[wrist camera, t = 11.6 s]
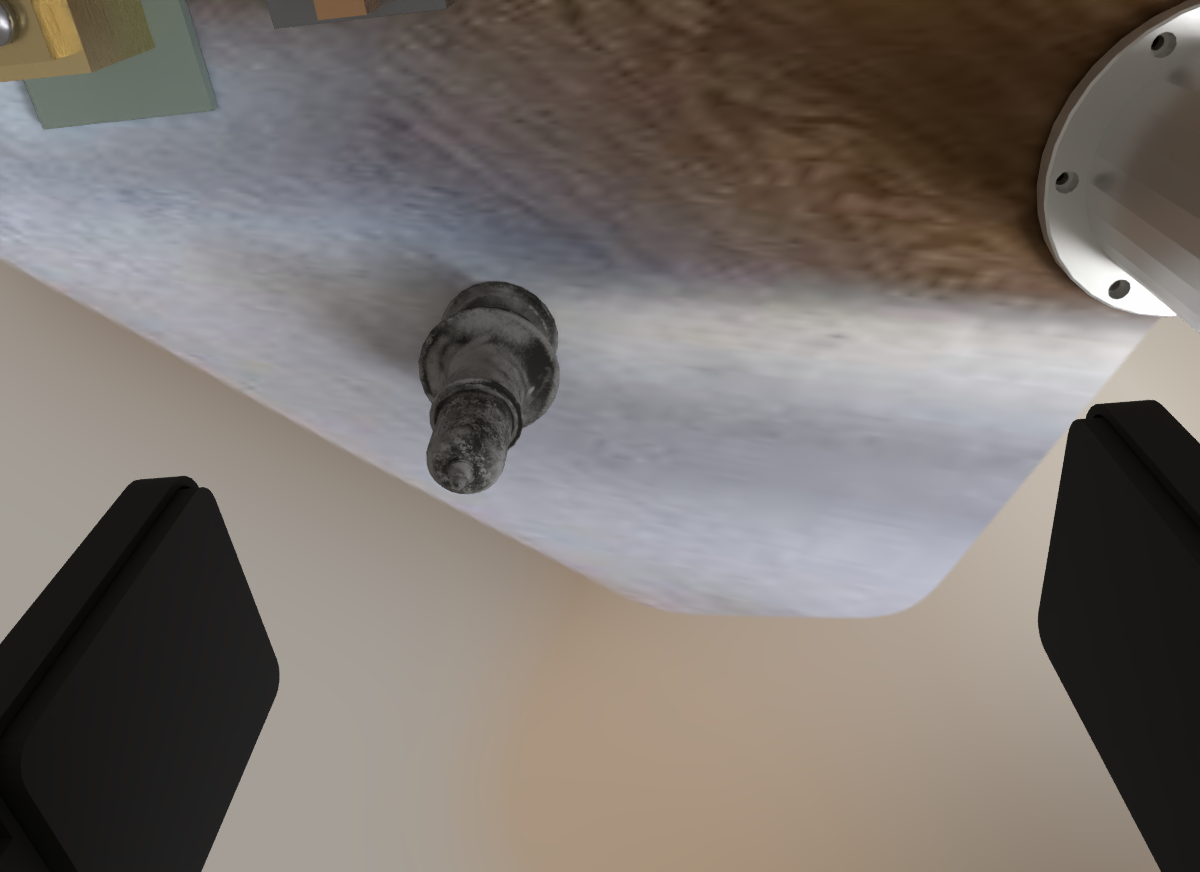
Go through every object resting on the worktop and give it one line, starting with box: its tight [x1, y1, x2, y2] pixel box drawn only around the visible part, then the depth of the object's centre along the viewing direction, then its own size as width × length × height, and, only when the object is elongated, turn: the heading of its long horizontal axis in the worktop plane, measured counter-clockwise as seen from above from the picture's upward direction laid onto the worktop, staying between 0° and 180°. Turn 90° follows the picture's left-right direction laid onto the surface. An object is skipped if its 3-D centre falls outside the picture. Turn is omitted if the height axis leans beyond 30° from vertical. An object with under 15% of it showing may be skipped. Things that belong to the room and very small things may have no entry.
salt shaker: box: [419, 282, 559, 494], centre depth 38 cm, size 6×6×12 cm
